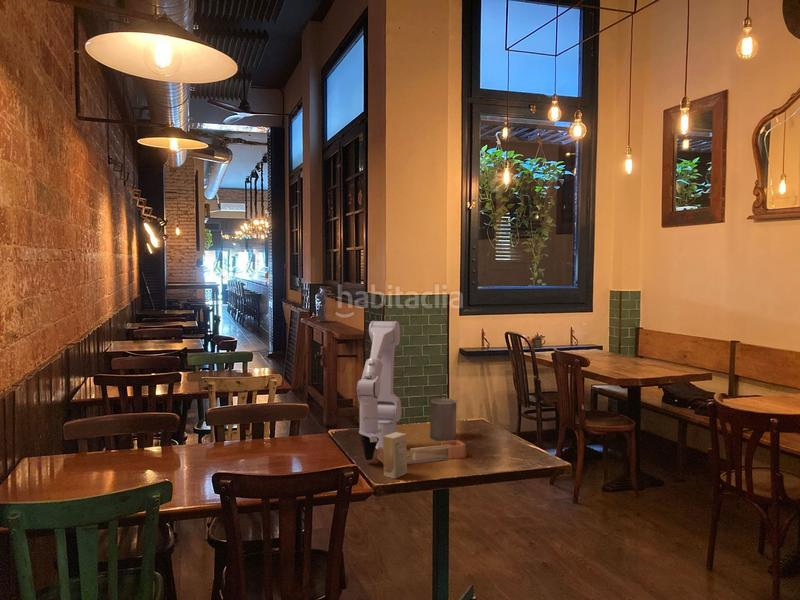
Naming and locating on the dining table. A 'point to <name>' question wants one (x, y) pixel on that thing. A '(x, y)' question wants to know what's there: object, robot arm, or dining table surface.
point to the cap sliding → (380, 454)
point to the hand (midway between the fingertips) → (368, 459)
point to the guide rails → (424, 459)
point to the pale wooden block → (429, 452)
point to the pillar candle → (443, 419)
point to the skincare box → (395, 455)
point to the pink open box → (455, 449)
